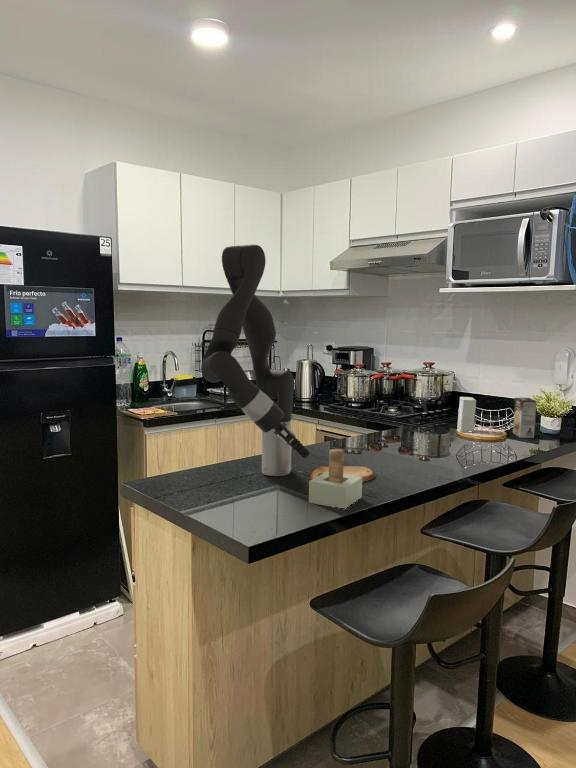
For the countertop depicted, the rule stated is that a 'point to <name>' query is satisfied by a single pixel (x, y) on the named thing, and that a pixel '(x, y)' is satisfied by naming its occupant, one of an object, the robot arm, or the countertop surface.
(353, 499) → the holder
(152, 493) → the countertop surface
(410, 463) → the countertop surface
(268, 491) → the countertop surface
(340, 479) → the dowel
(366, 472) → the slice of bread
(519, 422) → the coffee box
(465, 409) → the skincare box
